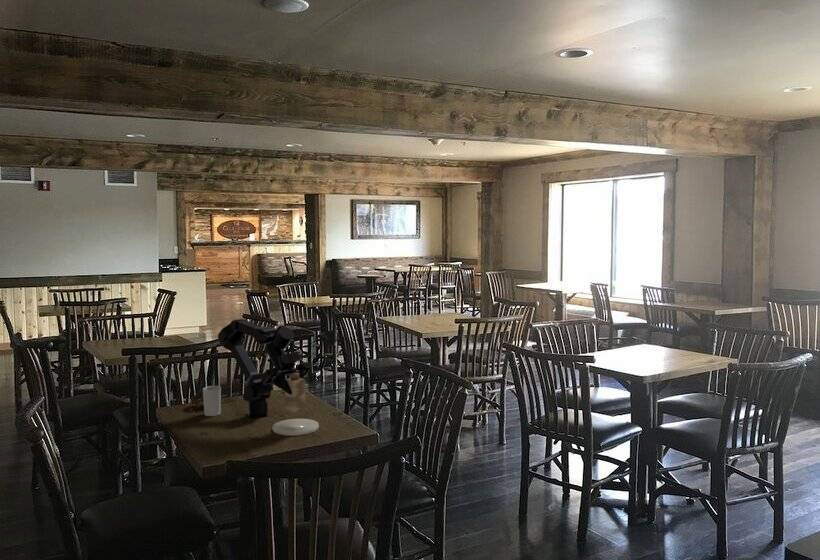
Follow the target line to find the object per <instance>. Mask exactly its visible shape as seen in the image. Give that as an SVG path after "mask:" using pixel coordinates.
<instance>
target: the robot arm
mask: <svg viewBox="0 0 820 560" xmlns="http://www.w3.org/2000/svg"><path fill="white" fill-rule="evenodd" d="M244 335H248V336H250V337H251V338H253V339H254V341H255V342H256V343H257V344H259V345H266V346H264V350H263V353H262V354H263V355H267V356H268V357H269V359H270V361H271V364H270V366H271V367H272V368H269V369H266V370H265V372H261V373H260V372H258V369H257V368H256V366H255V364H254V362H253V361H252V359H251V358H250V355H249V354H248V352H247V351H246V348H245V347H244V345H243V340H244V338H243V337H244ZM294 337H295V332H294V331H293V330H292V329H291V328H288V327H286V326H285V324H280V325H279V326H277V328H276V327H275V326H261V325H258V324H255V323H253V322H250V321H248V320H246V319H244V318H240V319H238V318H237V319H233V320H231V321H230V322H229V324H227V325H226V326H224V327H223V328H222V329H221V330H220V331H219V332H218V335H217V339H218V341H219V343H220V345H222V347H223V348H224V349H226V350H228V351H230V353H231V354H232V357H233V358H234V360H235V362H236V363H237V365H238V367H239V369H240V370H241V373H242V374H243V376H244V378H245V380H246V382H245V388H246V389H245V391H244V393H242V398H243V401H246V402H247V412H246V414H247V416H248V418H249V419H252V418H253V419H254V418H261V417H267V416H268V413H269V409H268V408H269V407H268V402H267V399H270V397H271V392H272V386H276V387H278V388H279V389H281V390H282V391H284V393H285V392H287V393H288V394H290V395H291V394H292V391H291V389H290V387H289V385H288V383H287V381H286V379H287V378H286V376H291V373H299V378H302V379H304V377H306V376H307V375H308V374H309V373H310V371H311V369H312V368H313V365H312V363H311V362H309V361H305V362H300V361H301V359H303V358H304V354H303V352H302V350H301V349H297V350H295V351H293V352H289V353H288V352H286V351H285V349H287V348H288V346H289V344H291V342H292V340H293V339H294ZM297 362H300V363H299V364H298V365H296V364H297ZM294 366H297V367H294Z"/></svg>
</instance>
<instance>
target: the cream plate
mask: <svg viewBox="0 0 820 560" xmlns="http://www.w3.org/2000/svg"><path fill="white" fill-rule="evenodd" d="M318 428H320V425H319V422H318V421H316V420H313V419H309V418H290V419H283V420H280V421H277V422H276V423H274V424H273V425H272V432H273V433H275V434H276V435H281V436H287V437H288V436H290V437H291V436H292V437H293V436H294V437H295V436H304V435H308V434H309V435H310V434H312V432H313V433H315V432H316V430H317V431H318V430H319V429H318Z"/></svg>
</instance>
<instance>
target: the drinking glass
mask: <svg viewBox="0 0 820 560" xmlns="http://www.w3.org/2000/svg"><path fill="white" fill-rule="evenodd" d="M202 390H203V399H202V400H203V410H204V411H203V412H204V416H205V417H215V416H220V415H221V409H222V408H221V405H222V402H221V401H222V400H221V399H222V395H221V394H222V387H221V386H220V385H219V386H218V385H209V386H205V387H203V388H202Z"/></svg>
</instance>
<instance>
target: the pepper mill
mask: <svg viewBox="0 0 820 560" xmlns="http://www.w3.org/2000/svg"><path fill="white" fill-rule="evenodd" d="M285 379H286V381H287V383H288V385H289V387H290V389H291V391H292V394H291V395H290V394H288V393H287V392H285V391H284V409H285V412H288V413H289V412H290V413H293V414H297V413H301V412H303V411H306V379H304V378H303V379H302V378H299V373H291V374H290V378H285Z"/></svg>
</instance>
